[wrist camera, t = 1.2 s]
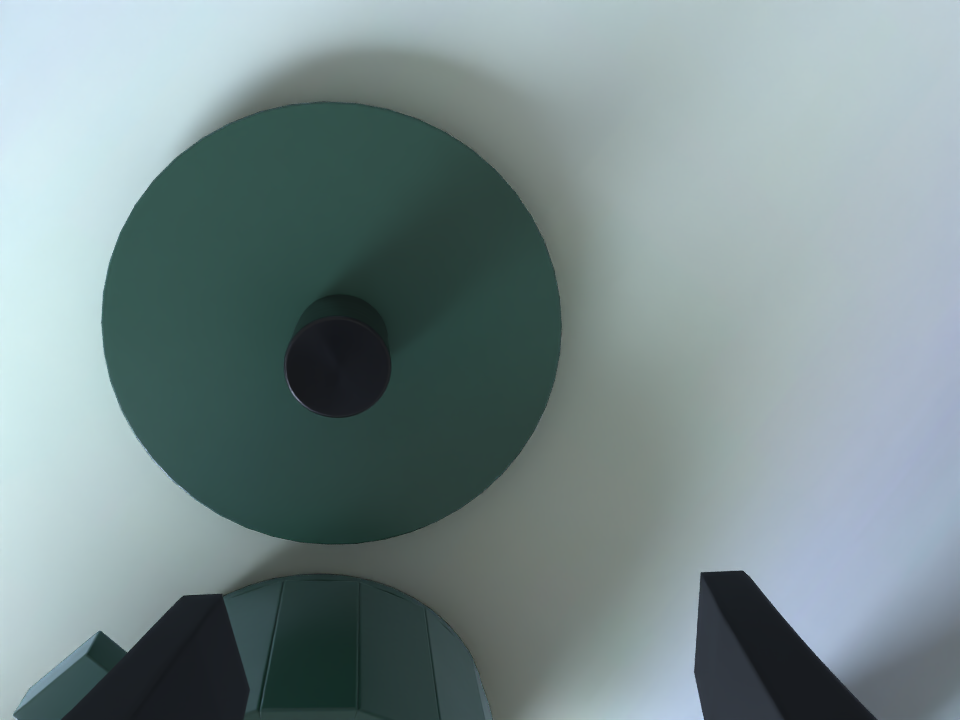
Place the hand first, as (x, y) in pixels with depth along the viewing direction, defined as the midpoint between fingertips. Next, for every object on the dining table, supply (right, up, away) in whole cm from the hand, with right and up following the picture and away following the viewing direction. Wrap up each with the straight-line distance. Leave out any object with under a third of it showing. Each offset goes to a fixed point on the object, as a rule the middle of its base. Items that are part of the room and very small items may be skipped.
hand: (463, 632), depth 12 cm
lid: (-4, +5, +11) cm, 12 cm away
